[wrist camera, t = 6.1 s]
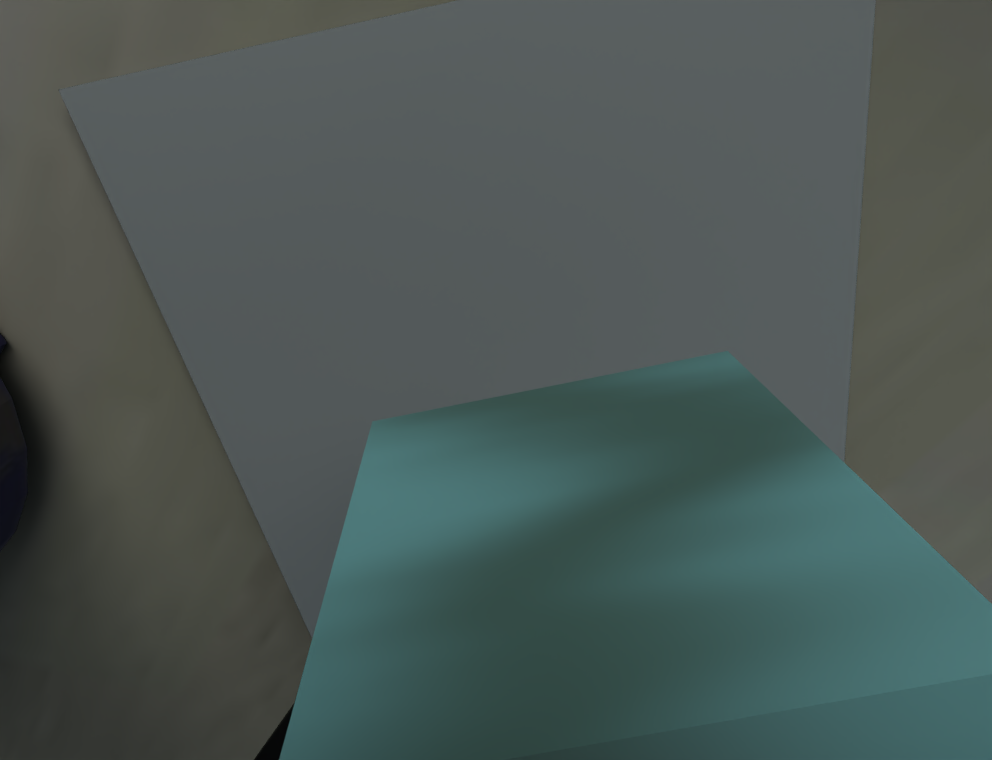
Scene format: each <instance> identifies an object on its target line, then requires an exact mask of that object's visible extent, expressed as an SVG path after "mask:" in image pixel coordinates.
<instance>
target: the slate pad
mask: <svg viewBox="0 0 992 760" xmlns="http://www.w3.org/2000/svg"><path fill="white" fill-rule="evenodd" d="M875 3H876V0H457V1H453V2H448V3H444V4H439V5H435V6H431V7H426V8H422V9H417V10H413V11H408V12H404V13H399V14H395V15H390V16H386V17H381V18H377V19H372V20H368V21H363V22H359V23H354V24H350V25H345V26H341V27H337V28H332V29H328V30H323V31H319V32H314V33H310V34H305V35H301V36H296V37H292V38H287V39H283V40H278V41H274V42H269V43H265V44H260V45H256V46H251V47H247V48H243V49H238V50H234V51H229V52H225V53H220V54H216V55H211V56H207V57H202V58H198V59H193V60H189V61H184V62H180V63H175V64H171V65H166V66H162V67H157V68H153V69H149V70H144V71H140V72H135V73H131V74H126V75H122V76H117V77H113V78H108V79H104V80H99V81H95V82H90V83H86V84H81V85H77V86H72V87H68V88H63V89H59V92H60V94H61V96H62V99H63V101H64V103H65V105H66V107H67V109H68V112H69V114H70V116H71V118H72V120H73V122H74V125H75V127H76V129H77V131H78V133H79V135H80V138H81V140H82V142H83V144H84V146H85V148H86V151H87V153H88V155H89V157H90V159H91V161H92V164H93V166H94V168H95V170H96V172H97V174H98V177H99V179H100V181H101V183H102V185H103V187H104V190H105V192H106V194H107V196H108V198H109V200H110V202H111V205H112V207H113V209H114V211H115V213H116V215H117V218H118V220H119V222H120V224H121V226H122V228H123V231H124V233H125V235H126V237H127V239H128V241H129V244H130V246H131V248H132V250H133V252H134V254H135V257H136V259H137V261H138V263H139V265H140V267H141V270H142V272H143V274H144V276H145V278H146V280H147V283H148V285H149V287H150V289H151V291H152V293H153V296H154V298H155V300H156V302H157V304H158V306H159V308H160V311H161V313H162V315H163V317H164V319H165V321H166V324H167V326H168V328H169V330H170V332H171V334H172V337H173V339H174V341H175V343H176V345H177V347H178V350H179V352H180V354H181V356H182V358H183V360H184V363H185V365H186V367H187V369H188V371H189V373H190V376H191V378H192V380H193V382H194V384H195V386H196V389H197V391H198V393H199V395H200V397H201V399H202V402H203V404H204V406H205V408H206V410H207V412H208V414H209V417H210V419H211V421H212V423H213V425H214V427H215V430H216V432H217V434H218V436H219V438H220V440H221V443H222V445H223V447H224V449H225V451H226V453H227V456H228V458H229V460H230V462H231V464H232V466H233V469H234V471H235V473H236V475H237V477H238V479H239V482H240V484H241V486H242V488H243V490H244V492H245V495H246V497H247V499H248V501H249V503H250V505H251V508H252V510H253V512H254V514H255V516H256V518H257V520H258V523H259V525H260V527H261V529H262V531H263V533H264V536H265V538H266V540H267V542H268V544H269V546H270V549H271V551H272V553H273V555H274V557H275V559H276V562H277V564H278V566H279V568H280V570H281V572H282V575H283V577H284V579H285V581H286V583H287V585H288V588H289V590H290V592H291V594H292V596H293V598H294V601H295V603H296V605H297V607H298V609H299V611H300V614H301V616H302V618H303V620H304V622H305V624H306V626H307V629H308V631H309V633H310V635H311V637H312V638H313V635H314V631H315V628H316V624H317V620H318V617H319V613H320V609H321V606H322V602H323V599H324V595H325V591H326V588H327V584H328V580H329V577H330V573H331V570H332V566H333V562H334V559H335V555H336V551H337V548H338V544H339V540H340V537H341V533H342V530H343V526H344V522H345V519H346V515H347V511H348V508H349V504H350V501H351V497H352V493H353V490H354V486H355V482H356V479H357V475H358V472H359V468H360V464H361V461H362V457H363V453H364V450H365V446H366V443H367V439H368V435H369V432H370V428H371V424H372V421H377V420H382V419H387V418H392V417H397V416H402V415H407V414H412V413H417V412H422V411H427V410H432V409H437V408H443V407H448V406H453V405H458V404H463V403H468V402H473V401H478V400H483V399H488V398H493V397H498V396H503V395H508V394H513V393H518V392H523V391H528V390H533V389H538V388H543V387H548V386H553V385H558V384H563V383H568V382H573V381H578V380H583V379H588V378H593V377H599V376H604V375H609V374H614V373H619V372H624V371H629V370H634V369H639V368H644V367H649V366H654V365H659V364H664V363H669V362H674V361H679V360H684V359H689V358H694V357H699V356H704V355H709V354H714V353H719V352H724V351H728V352H729V353H730V354H731V355H733V356H734V357H735V358H736V359H737V360H738V361H739V362H740V363H741V364H742V365H743V366H744V367H745V368H746V369H747V370H748V371H749V372H750V373H751V374H752V375H753V376H754V377H755V378H756V379H758V380H759V381H760V382H761V383H762V384H763V385H764V386H765V387H766V388H767V389H768V390H769V391H770V392H771V393H772V394H773V395H774V396H775V397H776V398H777V399H778V400H779V401H780V402H781V403H783V404H784V405H785V406H786V407H787V408H788V409H789V410H790V411H791V412H792V413H793V414H794V415H795V416H796V417H797V418H798V419H799V420H800V421H801V422H802V423H803V424H804V425H805V426H806V427H808V428H809V429H810V430H811V431H812V432H813V433H814V434H815V435H816V436H817V437H818V438H819V439H820V440H821V441H822V442H823V443H824V444H825V445H826V446H827V447H828V448H829V449H830V450H832V451H833V452H834V453H835V454H836V455H837V456H838V457H839V458H840V459H841V460H842V461H843V462H844V458H845V444H846V429H847V414H848V399H849V385H850V370H851V355H852V341H853V326H854V311H855V297H856V282H857V267H858V252H859V238H860V223H861V208H862V194H863V179H864V164H865V150H866V135H867V120H868V105H869V91H870V76H871V61H872V47H873V32H874V17H875Z"/></svg>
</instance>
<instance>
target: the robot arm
mask: <svg viewBox="0 0 992 760" xmlns="http://www.w3.org/2000/svg"><path fill="white" fill-rule="evenodd" d="M294 704H295V703H294ZM294 704H293V706H292V707H291V708H290V710H289V711H288V713H287V714H286V715H285V717H284V718H283V720H282V721H281V722H280V724H279V725H278V727H277V728H276V729H275V731H274V732H273V734H272V735H271V737H270V738H269V739H268V741H267V742H266V744H265V745H264V746H263V748H262V749H261V751H260V752H259V753H258V755H257V756H256V758H255V759H254V760H279V758H280V754H281V751H282V747H283V744H284V740H285V736H286V733H287V729H288V725H289V722H290V718H291V715H292V711H293V707H294Z"/></svg>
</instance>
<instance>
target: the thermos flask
mask: <svg viewBox="0 0 992 760" xmlns="http://www.w3.org/2000/svg"><path fill="white" fill-rule="evenodd" d="M6 343H7V342H6V340H5V338H4V337H3V336H2V334H1V333H0V353H1V352H2V350H3V348H4V347H5V345H6ZM27 493H28V476H27V446H26V443H25V440H24V436H23V433H22V430H21V427H20V423H19V420H18V417H17V413H16V410H15V407H14V403H13V400H12V397H11V396H10V394H9V392H8V390H7V389H6V387H5V385H4V383H3V382H2V380H1V378H0V552H1V550H2V549H3V548H4V546H5V545H6V544H7V542H8V541H9V539H10V538H11V537H12V535H13V534H14V533H15V531H16V529H17V526H18V523H19V519H20V516H21V513H22V510H23V506H24V503H25V500H26V497H27Z"/></svg>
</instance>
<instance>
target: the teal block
mask: <svg viewBox="0 0 992 760" xmlns="http://www.w3.org/2000/svg"><path fill="white" fill-rule="evenodd" d="M279 760H992V604H991V603H990V602H989V601H988V600H987V599H986V598H985V597H984V596H983V595H982V594H981V593H979V592H978V591H977V590H976V589H975V588H974V587H973V586H972V585H971V584H970V583H969V582H968V581H967V580H966V579H965V578H964V577H963V576H962V575H961V574H960V573H959V572H958V571H957V570H956V569H954V568H953V567H952V566H951V565H950V564H949V563H948V562H947V561H946V560H945V559H944V558H943V557H942V556H941V555H940V554H939V553H938V552H937V551H936V550H935V549H934V548H933V547H932V546H931V545H929V544H928V543H927V542H926V541H925V540H924V539H923V538H922V537H921V536H920V535H919V534H918V533H917V532H916V531H915V530H914V529H913V528H912V527H911V526H910V525H909V524H908V523H907V522H905V521H904V520H903V519H902V518H901V517H900V516H899V515H898V514H897V513H896V512H895V511H894V510H893V509H892V508H891V507H890V506H889V505H888V504H887V503H886V502H885V501H884V500H883V499H882V498H880V497H879V496H878V495H877V494H876V493H875V492H874V491H873V490H872V489H871V488H870V487H869V486H868V485H867V484H866V483H865V482H864V481H863V480H862V479H861V478H860V477H859V476H858V475H857V474H855V473H854V472H853V471H852V470H851V469H850V468H849V467H848V466H847V465H846V464H845V463H844V462H843V461H842V460H841V459H840V458H839V457H838V456H837V455H836V454H835V453H834V452H833V451H832V450H830V449H829V448H828V447H827V446H826V445H825V444H824V443H823V442H822V441H821V440H820V439H819V438H818V437H817V436H816V435H815V434H814V433H813V432H812V431H811V430H810V429H809V428H808V427H806V426H805V425H804V424H803V423H802V422H801V421H800V420H799V419H798V418H797V417H796V416H795V415H794V414H793V413H792V412H791V411H790V410H789V409H788V408H787V407H786V406H785V405H784V404H783V403H781V402H780V401H779V400H778V399H777V398H776V397H775V396H774V395H773V394H772V393H771V392H770V391H769V390H768V389H767V388H766V387H765V386H764V385H763V384H762V383H761V382H760V381H759V380H758V379H756V378H755V377H754V376H753V375H752V374H751V373H750V372H749V371H748V370H747V369H746V368H745V367H744V366H743V365H742V364H741V363H740V362H739V361H738V360H737V359H736V358H735V357H734V356H733V355H731V354H730V353H729V352H728V351H724V352H719V353H714V354H709V355H704V356H699V357H694V358H689V359H684V360H679V361H674V362H669V363H664V364H659V365H654V366H649V367H644V368H639V369H634V370H629V371H624V372H619V373H614V374H609V375H604V376H599V377H593V378H588V379H583V380H578V381H573V382H568V383H563V384H558V385H553V386H548V387H543V388H538V389H533V390H528V391H523V392H518V393H513V394H508V395H503V396H498V397H493V398H488V399H483V400H478V401H473V402H468V403H463V404H458V405H453V406H448V407H443V408H437V409H432V410H427V411H422V412H417V413H412V414H407V415H402V416H397V417H392V418H387V419H382V420H377V421H372V424H371V428H370V432H369V435H368V439H367V443H366V446H365V450H364V453H363V457H362V461H361V464H360V468H359V472H358V475H357V479H356V482H355V486H354V490H353V493H352V497H351V501H350V504H349V508H348V511H347V515H346V519H345V522H344V526H343V530H342V533H341V537H340V540H339V544H338V548H337V551H336V555H335V559H334V562H333V566H332V570H331V573H330V577H329V580H328V584H327V588H326V591H325V595H324V599H323V602H322V606H321V609H320V613H319V617H318V620H317V624H316V628H315V631H314V635H313V638H312V642H311V646H310V649H309V653H308V657H307V660H306V664H305V667H304V671H303V675H302V678H301V682H300V686H299V689H298V693H297V696H296V700H295V704H294V707H293V711H292V715H291V718H290V722H289V725H288V729H287V733H286V736H285V740H284V744H283V747H282V751H281V754H280V758H279Z"/></svg>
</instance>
